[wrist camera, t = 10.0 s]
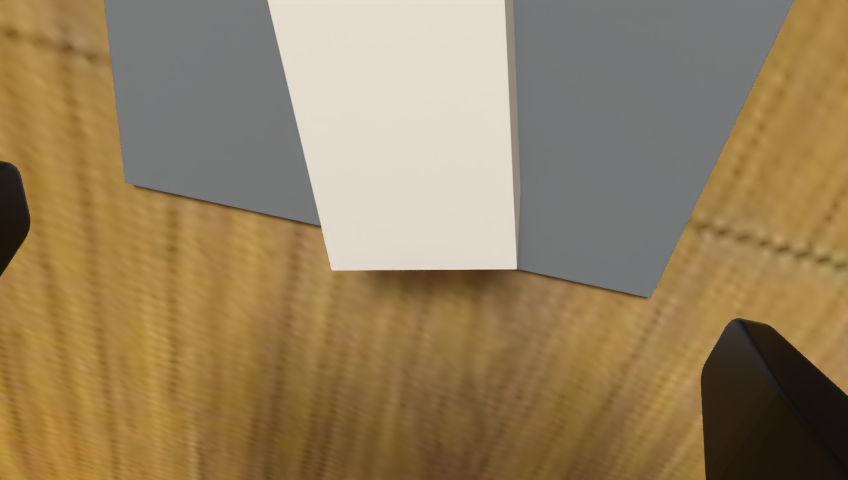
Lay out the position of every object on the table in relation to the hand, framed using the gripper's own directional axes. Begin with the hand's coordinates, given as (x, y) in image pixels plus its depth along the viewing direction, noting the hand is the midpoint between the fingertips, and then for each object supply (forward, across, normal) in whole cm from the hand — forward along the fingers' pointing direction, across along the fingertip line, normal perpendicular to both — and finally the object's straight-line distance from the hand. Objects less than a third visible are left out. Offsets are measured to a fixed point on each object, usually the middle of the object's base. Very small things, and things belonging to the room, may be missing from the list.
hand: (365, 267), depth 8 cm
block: (+12, +1, +1) cm, 12 cm away
